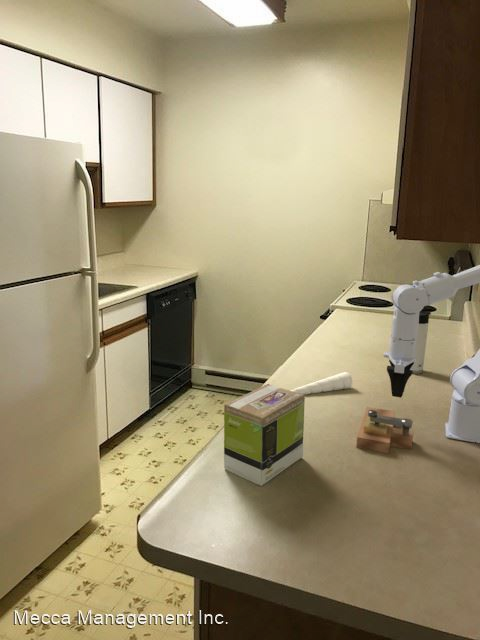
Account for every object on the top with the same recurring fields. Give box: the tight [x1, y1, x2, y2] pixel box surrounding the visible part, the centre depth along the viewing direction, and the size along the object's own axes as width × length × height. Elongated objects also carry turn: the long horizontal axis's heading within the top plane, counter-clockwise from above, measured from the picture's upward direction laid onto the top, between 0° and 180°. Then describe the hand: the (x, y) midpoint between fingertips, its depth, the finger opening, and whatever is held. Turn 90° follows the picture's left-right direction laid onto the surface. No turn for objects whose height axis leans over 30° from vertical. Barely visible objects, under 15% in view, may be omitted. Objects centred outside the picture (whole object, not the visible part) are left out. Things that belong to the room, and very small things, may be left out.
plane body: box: [355, 406, 414, 454], centre depth 118 cm, size 12×18×4 cm, turn 159°
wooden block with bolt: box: [364, 416, 388, 436], centre depth 116 cm, size 5×6×2 cm
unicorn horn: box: [289, 371, 353, 395], centre depth 144 cm, size 5×24×5 cm, turn 110°
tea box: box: [223, 383, 306, 487], centre depth 103 cm, size 15×10×15 cm, turn 141°
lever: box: [368, 410, 413, 430], centre depth 114 cm, size 10×2×2 cm, turn 69°
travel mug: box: [410, 310, 432, 375], centre depth 161 cm, size 6×7×20 cm
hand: (397, 392), depth 118 cm, fingers open, 5 cm apart
